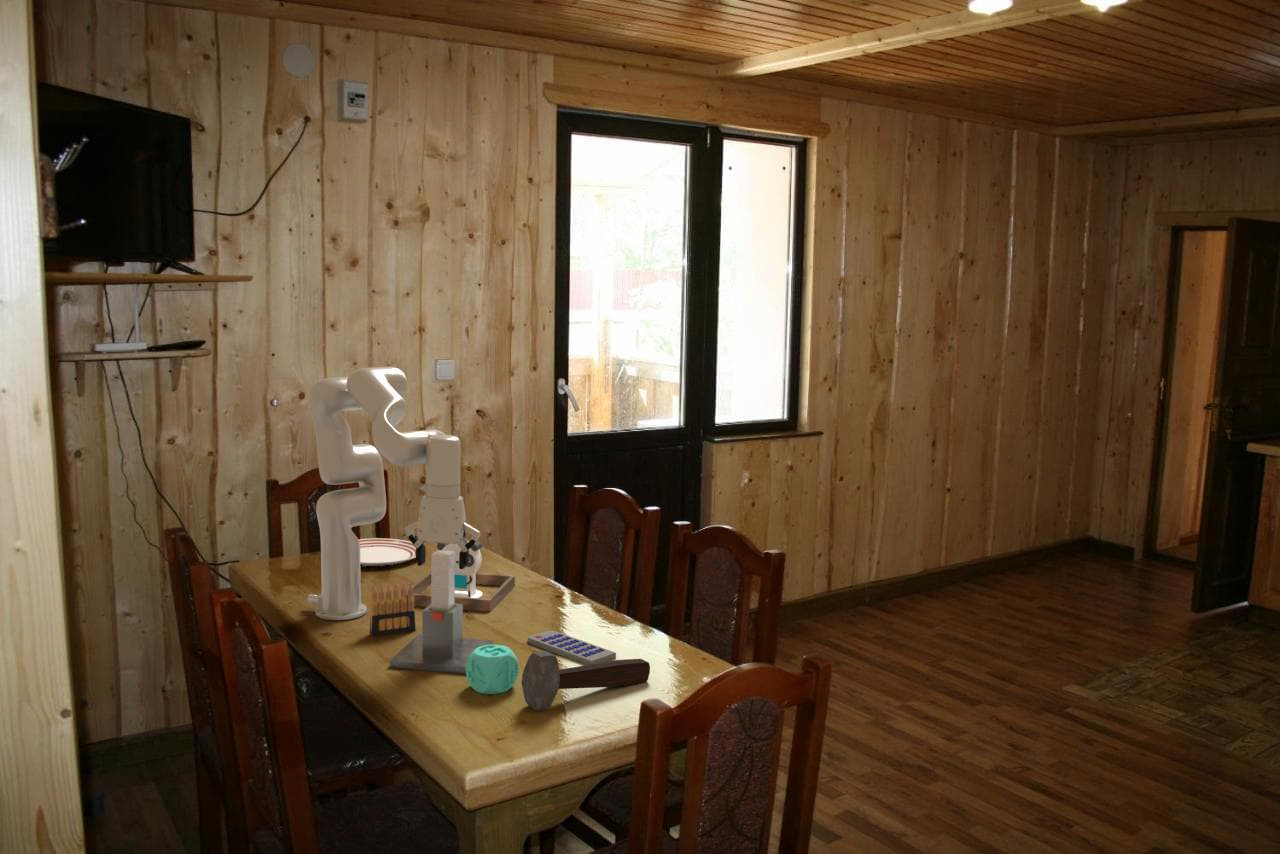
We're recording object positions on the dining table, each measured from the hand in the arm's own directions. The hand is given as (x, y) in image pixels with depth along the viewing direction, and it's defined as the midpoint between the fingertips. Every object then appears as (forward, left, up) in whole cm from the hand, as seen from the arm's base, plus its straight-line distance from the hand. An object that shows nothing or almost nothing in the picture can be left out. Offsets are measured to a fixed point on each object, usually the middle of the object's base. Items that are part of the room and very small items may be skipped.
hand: (442, 565), depth 235 cm
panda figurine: (-11, +46, -21) cm, 52 cm away
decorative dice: (+16, -15, -21) cm, 31 cm away
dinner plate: (-47, +76, -22) cm, 92 cm away
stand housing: (0, 0, -21) cm, 21 cm away
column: (0, 0, -13) cm, 13 cm away
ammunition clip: (-17, +13, -21) cm, 30 cm away
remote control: (+28, +11, -22) cm, 37 cm away
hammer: (+37, -14, -22) cm, 45 cm away
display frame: (-11, +46, -21) cm, 51 cm away
